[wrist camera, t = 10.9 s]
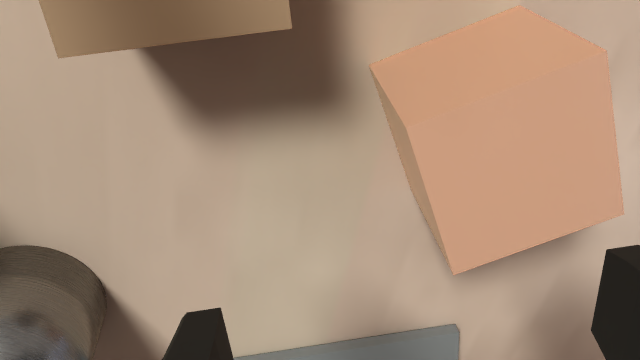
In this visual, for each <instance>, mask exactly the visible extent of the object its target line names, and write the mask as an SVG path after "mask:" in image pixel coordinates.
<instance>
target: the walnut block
mask: <svg viewBox="0 0 640 360" xmlns="http://www.w3.org/2000/svg"><path fill="white" fill-rule="evenodd" d="M39 3H40V6H41V9H42V11H43V14H44V17H45V20H46V23H47V26H48V29H49V32H50V35H51V38H52V41H53V44H54V47H55V50H56V53H57V56H58V58H64V57H72V56H80V55H88V54H96V53H104V52H112V51H119V50H127V49H135V48H143V47H151V46H159V45H167V44H175V43H183V42H190V41H198V40H206V39H214V38H222V37H230V36H238V35H246V34H254V33H261V32H269V31H277V30H285V29H292V23H291V15H290V7H289V0H39Z"/></svg>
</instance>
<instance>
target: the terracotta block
mask: <svg viewBox="0 0 640 360" xmlns="http://www.w3.org/2000/svg"><path fill="white" fill-rule="evenodd" d="M369 67H370V70H371V73H372V76H373V79H374V82H375V85H376V88H377V91H378V94H379V97H380V100H381V103H382V106H383V109H384V112H385V115H386V118H387V121H388V123H389V126H390V129H391V132H392V135H393V138H394V141H395V144H396V147H397V150H398V153H399V156H400V159H401V162H402V165H403V168H404V171H405V174H406V176H407V179H408V182H409V185H410V188H411V191H412V193H413V195H414V197H415V199H416V201H417V203H418V205H419V207H420V209H421V211H422V213H423V215H424V217H425V219H426V221H427V223H428V225H429V227H430V229H431V231H432V233H433V235H434V237H435V239H436V241H437V243H438V245H439V247H440V249H441V251H442V253H443V255H444V257H445V259H446V261H447V263H448V265H449V267H450V269H451V271H452V273H453V275H456V274H458V273H461V272H464V271H467V270H470V269H472V268H475V267H478V266H481V265H484V264H486V263H489V262H492V261H495V260H498V259H500V258H503V257H506V256H509V255H512V254H514V253H517V252H520V251H523V250H526V249H528V248H531V247H534V246H537V245H539V244H542V243H545V242H548V241H551V240H553V239H556V238H559V237H562V236H565V235H567V234H570V233H573V232H576V231H579V230H581V229H584V228H587V227H590V226H593V225H595V224H598V223H601V222H604V221H607V220H609V219H612V218H615V217H618V216H621V215H623V214H624V208H623V199H622V189H621V180H620V170H619V161H618V152H617V142H616V133H615V123H614V114H613V104H612V95H611V86H610V76H609V67H608V57H607V50H605V49H603V48H601V47H599V46H597V45H595V44H593V43H591V42H589V41H587V40H585V39H584V38H582V37H580V36H578V35H576V34H574V33H572V32H570V31H568V30H566V29H564V28H562V27H560V26H559V25H557V24H555V23H553V22H551V21H549V20H547V19H545V18H543V17H541V16H539V15H537V14H536V13H534V12H532V11H530V10H528V9H526V8H524V7H522V6H520V5H519V6H516V7H514V8H511V9H509V10H506V11H504V12H501V13H499V14H496V15H493V16H491V17H488V18H486V19H483V20H481V21H478V22H476V23H473V24H471V25H468V26H466V27H463V28H461V29H458V30H456V31H453V32H451V33H448V34H446V35H443V36H441V37H438V38H435V39H433V40H430V41H428V42H425V43H423V44H420V45H418V46H415V47H413V48H410V49H408V50H405V51H403V52H400V53H398V54H395V55H393V56H390V57H388V58H385V59H382V60H380V61H377V62H375V63H372V64H370V65H369Z"/></svg>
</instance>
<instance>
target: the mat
mask: <svg viewBox="0 0 640 360" xmlns="http://www.w3.org/2000/svg"><path fill="white" fill-rule="evenodd" d="M458 351H459V331H458V329H457V327H456V324H451V325H445V326H439V327H432V328H426V329H419V330H413V331H406V332H400V333H393V334H387V335H380V336H374V337H367V338H361V339H354V340H348V341H342V342H335V343H329V344H322V345H316V346H309V347H303V348H296V349H290V350H283V351H277V352H270V353H264V354H257V355H251V356H245V357H238V358H233V359H234V360H458Z"/></svg>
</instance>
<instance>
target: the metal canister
mask: <svg viewBox="0 0 640 360" xmlns="http://www.w3.org/2000/svg"><path fill="white" fill-rule="evenodd" d="M106 308H107V299H106V294H105V291H104V288H103V286H102V284H101V282H100V281H99V279H98V278H97V277H96V275H95V274H94V273H93V272H92V271H91V270H90V269H89V268H88V267H86V266H85V265H84V264H83V263H81V262H80V261H78V260H76V259H75V258H73V257H71V256H69V255H67V254H64V253H62V252H59V251H56V250H53V249H49V248H44V247H38V246H13V247H6V248H2V249H0V360H92V358H93V354H94V351H95V348H96V344H97V341H98V337H99V334H100V330H101V327H102V323H103V320H104V316H105V313H106Z"/></svg>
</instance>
